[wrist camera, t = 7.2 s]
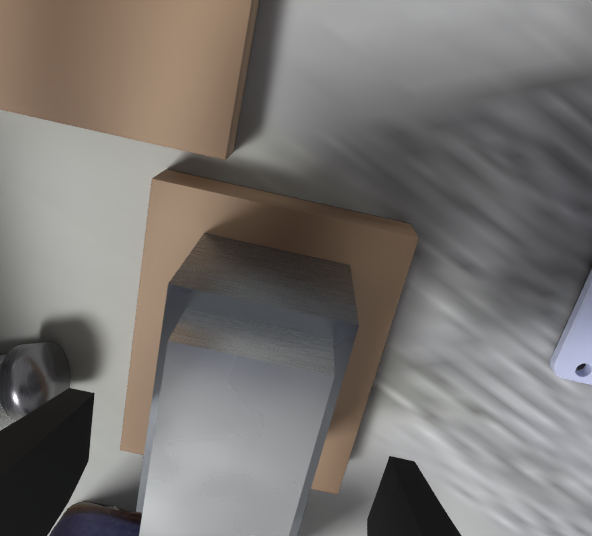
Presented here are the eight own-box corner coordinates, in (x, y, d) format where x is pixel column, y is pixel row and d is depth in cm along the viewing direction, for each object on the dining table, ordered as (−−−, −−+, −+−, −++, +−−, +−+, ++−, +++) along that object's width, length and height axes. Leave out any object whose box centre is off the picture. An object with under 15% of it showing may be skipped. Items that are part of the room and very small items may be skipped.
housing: (350, 265, 16) (364, 361, 11) (299, 446, 18) (292, 597, 13) (204, 232, 16) (146, 313, 11) (173, 420, 18) (114, 562, 13)
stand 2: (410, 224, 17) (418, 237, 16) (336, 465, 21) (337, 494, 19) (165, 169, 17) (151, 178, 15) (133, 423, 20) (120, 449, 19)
